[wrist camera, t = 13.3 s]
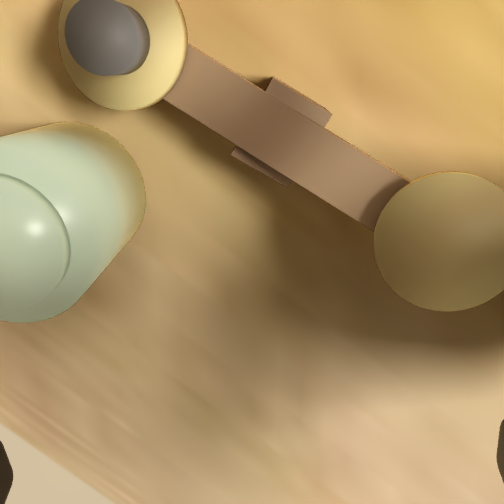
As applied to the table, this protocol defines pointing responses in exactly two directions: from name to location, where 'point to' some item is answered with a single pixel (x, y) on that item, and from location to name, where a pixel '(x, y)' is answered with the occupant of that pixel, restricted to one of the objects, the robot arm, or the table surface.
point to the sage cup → (62, 215)
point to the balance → (295, 149)
